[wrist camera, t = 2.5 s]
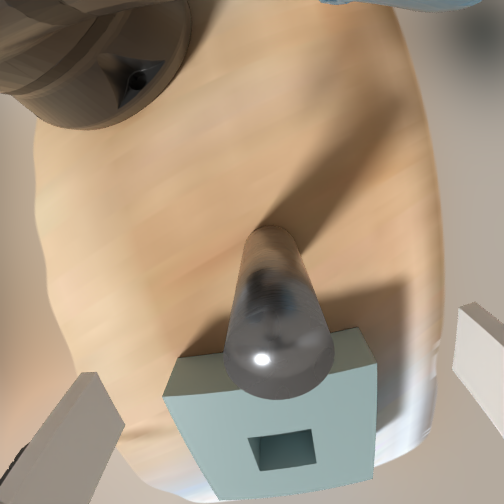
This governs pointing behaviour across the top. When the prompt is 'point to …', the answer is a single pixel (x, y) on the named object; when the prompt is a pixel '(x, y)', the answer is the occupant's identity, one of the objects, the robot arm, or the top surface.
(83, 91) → the robot arm
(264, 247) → the pin
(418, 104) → the top surface
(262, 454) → the bore block
